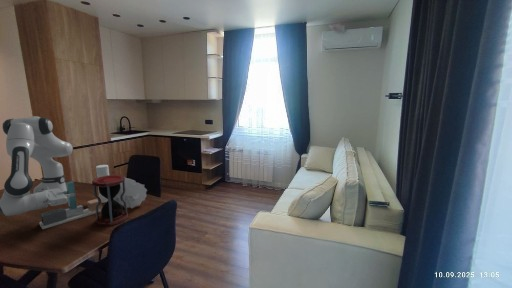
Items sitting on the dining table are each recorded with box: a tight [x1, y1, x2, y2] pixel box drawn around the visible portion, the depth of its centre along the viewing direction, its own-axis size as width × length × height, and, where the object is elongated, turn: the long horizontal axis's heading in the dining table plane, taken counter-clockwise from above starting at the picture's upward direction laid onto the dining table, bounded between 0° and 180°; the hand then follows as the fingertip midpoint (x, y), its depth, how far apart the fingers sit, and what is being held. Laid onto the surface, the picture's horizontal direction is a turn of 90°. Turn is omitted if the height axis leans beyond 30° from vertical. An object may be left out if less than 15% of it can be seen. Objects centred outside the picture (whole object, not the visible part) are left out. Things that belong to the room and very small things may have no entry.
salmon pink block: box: [87, 198, 103, 212], centre depth 149 cm, size 6×5×5 cm
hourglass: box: [91, 174, 129, 227], centre depth 138 cm, size 16×16×25 cm
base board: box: [39, 208, 101, 230], centre depth 142 cm, size 30×8×1 cm, turn 141°
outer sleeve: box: [40, 207, 67, 226], centre depth 134 cm, size 10×5×5 cm, turn 141°
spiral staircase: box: [113, 176, 148, 209], centre depth 159 cm, size 18×18×25 cm
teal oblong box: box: [64, 180, 84, 217], centre depth 137 cm, size 16×4×20 cm, turn 141°
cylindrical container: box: [95, 164, 110, 204], centre depth 163 cm, size 7×7×25 cm
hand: (73, 192), depth 140 cm, fingers closed on teal oblong box, 4 cm apart
